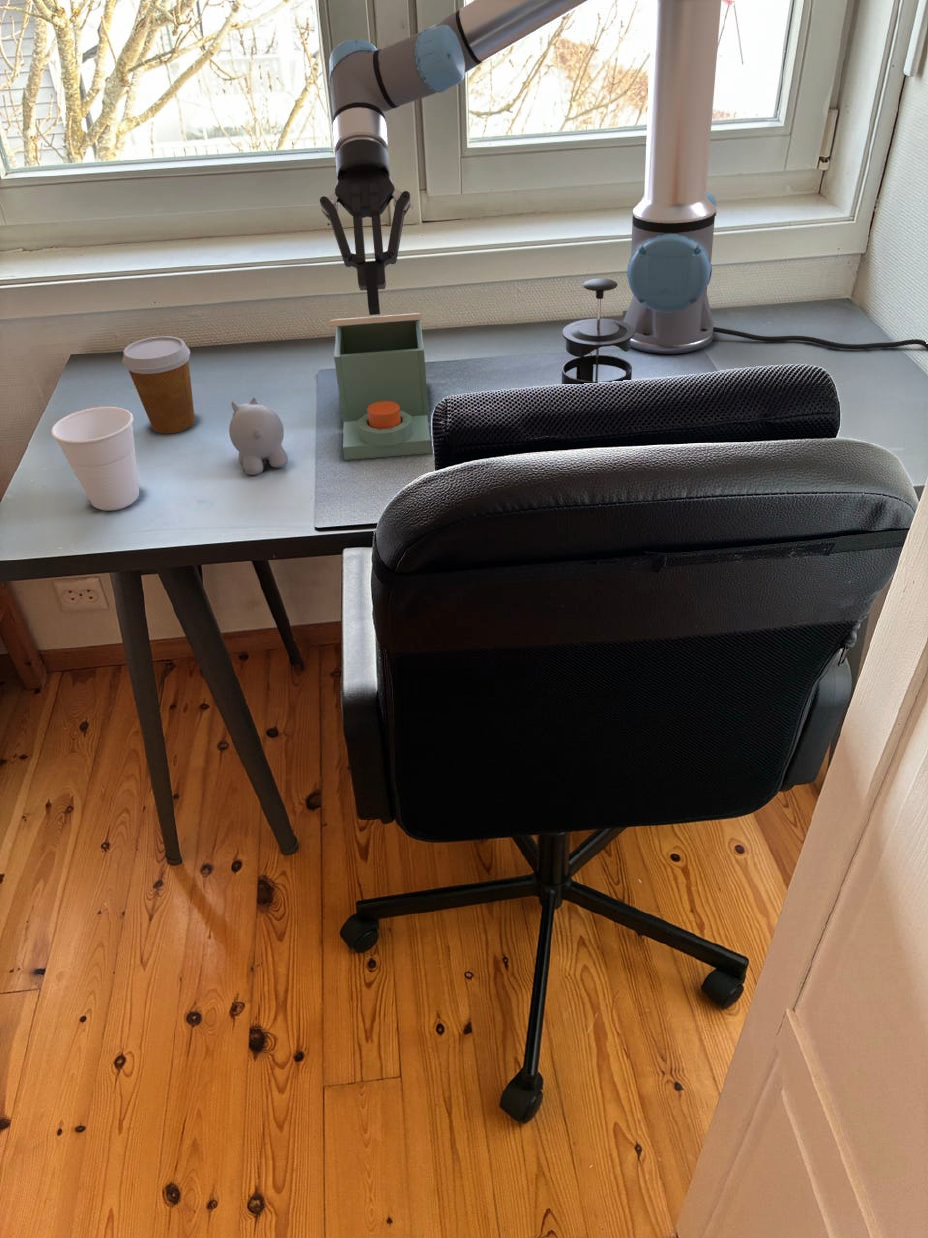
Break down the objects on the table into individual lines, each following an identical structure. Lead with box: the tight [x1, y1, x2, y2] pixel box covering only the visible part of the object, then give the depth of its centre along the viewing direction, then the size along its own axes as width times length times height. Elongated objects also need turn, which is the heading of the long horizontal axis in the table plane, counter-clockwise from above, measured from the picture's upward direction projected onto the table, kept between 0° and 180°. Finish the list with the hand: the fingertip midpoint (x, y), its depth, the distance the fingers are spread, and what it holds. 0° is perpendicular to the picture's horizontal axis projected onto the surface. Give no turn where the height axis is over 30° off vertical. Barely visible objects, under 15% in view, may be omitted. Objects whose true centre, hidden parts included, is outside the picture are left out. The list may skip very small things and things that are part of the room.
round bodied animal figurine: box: [228, 397, 289, 476], centre depth 129 cm, size 7×12×8 cm, turn 23°
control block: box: [342, 411, 432, 461], centre depth 132 cm, size 12×9×4 cm
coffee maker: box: [333, 320, 430, 426], centre depth 140 cm, size 13×13×11 cm
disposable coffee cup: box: [121, 335, 196, 434], centre depth 138 cm, size 10×10×12 cm
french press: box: [561, 277, 634, 385], centre depth 122 cm, size 12×9×23 cm
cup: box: [50, 406, 140, 512], centre depth 121 cm, size 10×10×11 cm
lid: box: [328, 312, 423, 327], centre depth 135 cm, size 14×13×1 cm
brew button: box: [367, 401, 401, 429], centre depth 129 cm, size 4×4×2 cm
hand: (374, 309), depth 130 cm, fingers closed
